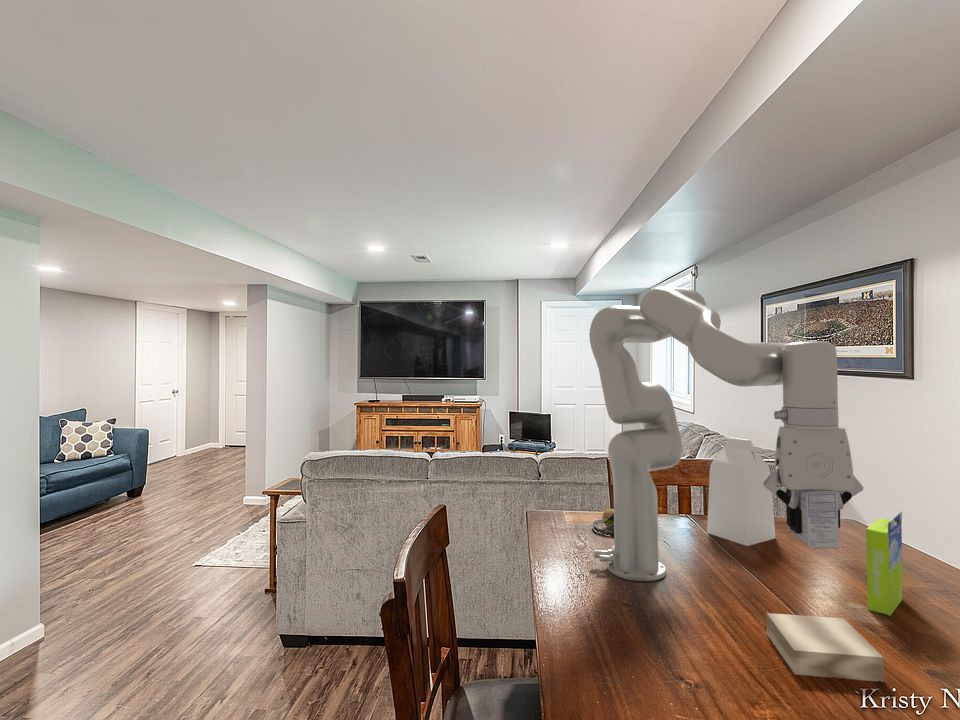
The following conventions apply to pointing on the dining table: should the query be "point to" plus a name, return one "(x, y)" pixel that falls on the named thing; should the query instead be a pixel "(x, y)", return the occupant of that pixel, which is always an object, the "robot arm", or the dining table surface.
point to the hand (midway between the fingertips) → (813, 530)
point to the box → (884, 564)
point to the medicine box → (819, 519)
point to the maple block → (824, 647)
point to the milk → (740, 495)
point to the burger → (605, 523)
